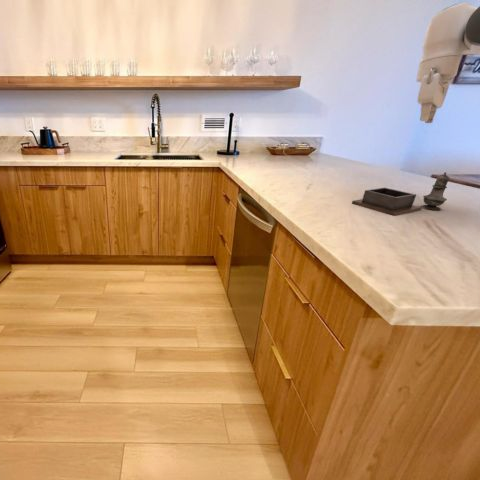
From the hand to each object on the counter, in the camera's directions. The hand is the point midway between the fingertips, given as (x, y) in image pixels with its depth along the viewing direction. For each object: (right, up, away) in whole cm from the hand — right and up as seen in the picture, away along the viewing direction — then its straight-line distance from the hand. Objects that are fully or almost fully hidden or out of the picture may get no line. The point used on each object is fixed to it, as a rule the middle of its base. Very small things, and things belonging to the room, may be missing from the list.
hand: (426, 122), depth 89 cm
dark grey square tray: (-6, -25, +9) cm, 27 cm away
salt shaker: (+8, -26, +7) cm, 28 cm away
